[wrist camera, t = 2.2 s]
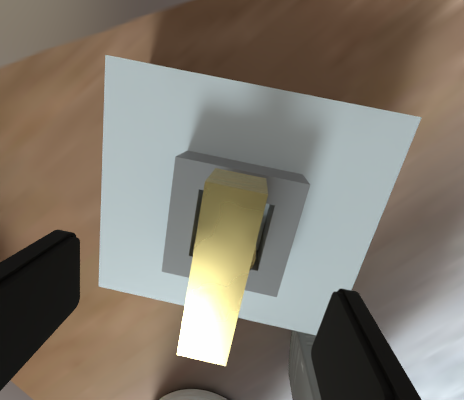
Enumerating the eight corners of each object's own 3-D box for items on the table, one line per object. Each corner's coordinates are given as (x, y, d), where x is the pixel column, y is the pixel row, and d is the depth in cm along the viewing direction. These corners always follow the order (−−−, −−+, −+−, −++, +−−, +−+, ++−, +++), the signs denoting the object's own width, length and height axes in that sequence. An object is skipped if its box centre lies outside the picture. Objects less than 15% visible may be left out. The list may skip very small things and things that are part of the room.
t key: (270, 160, 16) (279, 197, 9) (243, 271, 18) (234, 368, 11) (221, 150, 16) (193, 178, 9) (202, 262, 19) (167, 352, 12)
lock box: (375, 116, 20) (453, 117, 12) (314, 288, 25) (341, 369, 17) (147, 71, 21) (76, 43, 13) (133, 248, 26) (77, 309, 18)
